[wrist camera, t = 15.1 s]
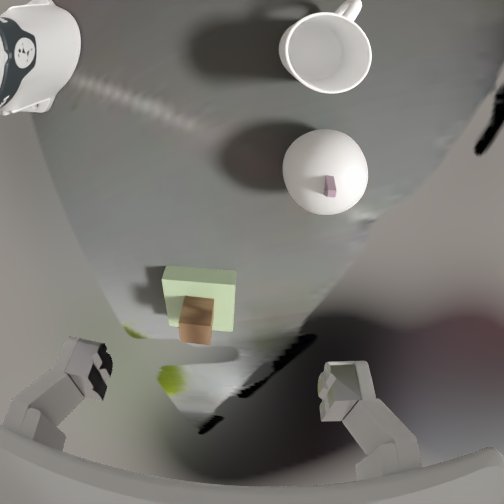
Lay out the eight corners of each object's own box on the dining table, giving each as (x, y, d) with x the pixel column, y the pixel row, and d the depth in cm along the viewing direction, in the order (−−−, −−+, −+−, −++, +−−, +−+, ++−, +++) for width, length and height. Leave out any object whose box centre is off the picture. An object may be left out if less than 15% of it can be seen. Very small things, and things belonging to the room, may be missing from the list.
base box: (173, 310, 60) (169, 325, 57) (166, 263, 53) (161, 279, 50) (233, 315, 61) (232, 331, 57) (236, 268, 53) (234, 285, 50)
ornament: (269, 134, 39) (273, 169, 29) (343, 111, 36) (373, 138, 27) (294, 199, 45) (303, 249, 35) (361, 178, 42) (389, 224, 33)
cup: (266, 61, 33) (268, 66, 25) (313, -13, 26) (330, -31, 18) (324, 93, 35) (344, 109, 27) (370, 22, 29) (404, 18, 21)
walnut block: (185, 314, 55) (180, 341, 50) (184, 295, 52) (178, 322, 47) (213, 318, 55) (210, 345, 50) (214, 298, 52) (210, 326, 47)
